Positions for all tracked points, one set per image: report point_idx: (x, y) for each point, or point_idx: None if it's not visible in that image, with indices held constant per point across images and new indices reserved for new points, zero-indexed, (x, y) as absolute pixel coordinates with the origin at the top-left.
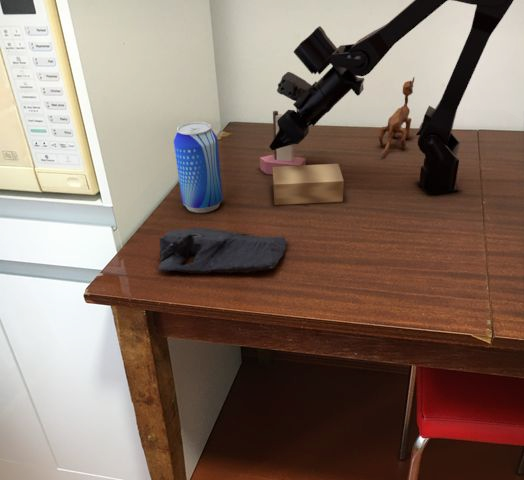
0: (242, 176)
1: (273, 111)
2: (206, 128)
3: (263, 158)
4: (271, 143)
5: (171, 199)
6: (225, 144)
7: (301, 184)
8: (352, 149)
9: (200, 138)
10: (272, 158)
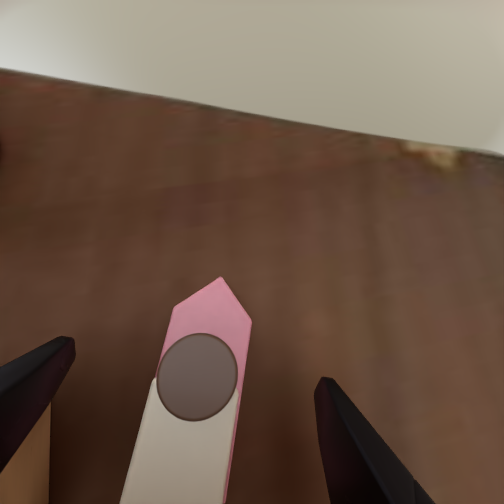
0: (160, 239)
1: (206, 340)
2: None
3: (210, 292)
4: (23, 356)
5: (4, 85)
6: (382, 165)
7: None
8: None
9: None
10: (212, 329)
